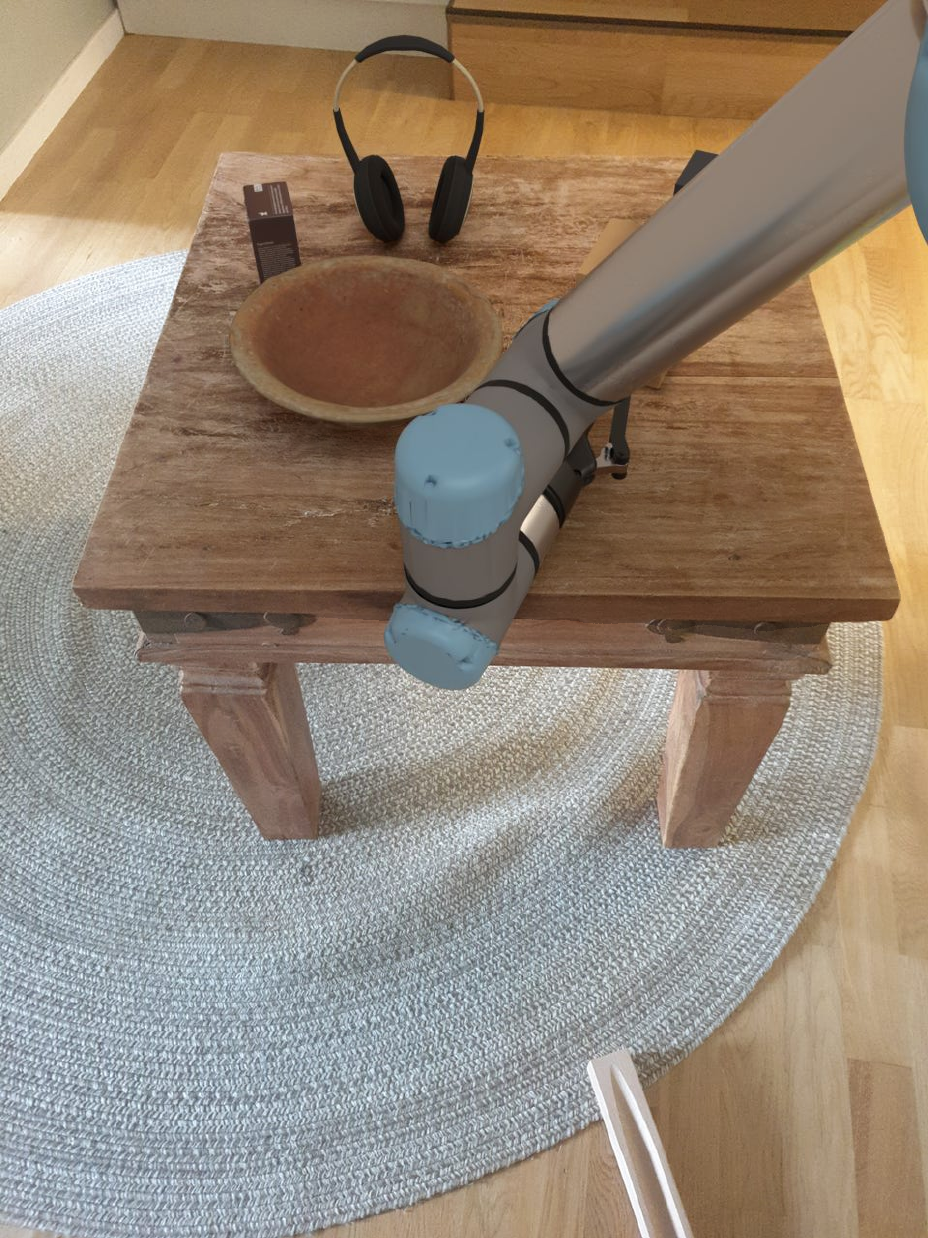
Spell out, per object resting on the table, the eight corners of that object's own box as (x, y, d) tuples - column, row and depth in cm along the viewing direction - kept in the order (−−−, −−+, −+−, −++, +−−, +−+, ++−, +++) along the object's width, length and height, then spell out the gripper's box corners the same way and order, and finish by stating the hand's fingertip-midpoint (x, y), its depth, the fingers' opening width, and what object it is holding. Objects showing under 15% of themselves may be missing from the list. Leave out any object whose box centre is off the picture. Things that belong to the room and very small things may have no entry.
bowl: (526, 463, 81) (530, 393, 75) (255, 504, 79) (234, 436, 72) (475, 298, 94) (474, 226, 88) (242, 330, 92) (223, 259, 86)
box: (314, 325, 92) (293, 213, 82) (269, 332, 92) (243, 221, 82) (307, 289, 96) (286, 177, 86) (263, 295, 95) (237, 184, 85)
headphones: (483, 260, 98) (482, 59, 81) (345, 258, 99) (316, 59, 82) (486, 214, 103) (486, 15, 86) (354, 212, 103) (329, 15, 87)
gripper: (440, 513, 75) (549, 339, 87) (592, 566, 71) (684, 377, 83) (436, 447, 69) (554, 268, 81) (602, 501, 65) (700, 306, 77)
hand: (620, 324), depth 82 cm, fingers closed
